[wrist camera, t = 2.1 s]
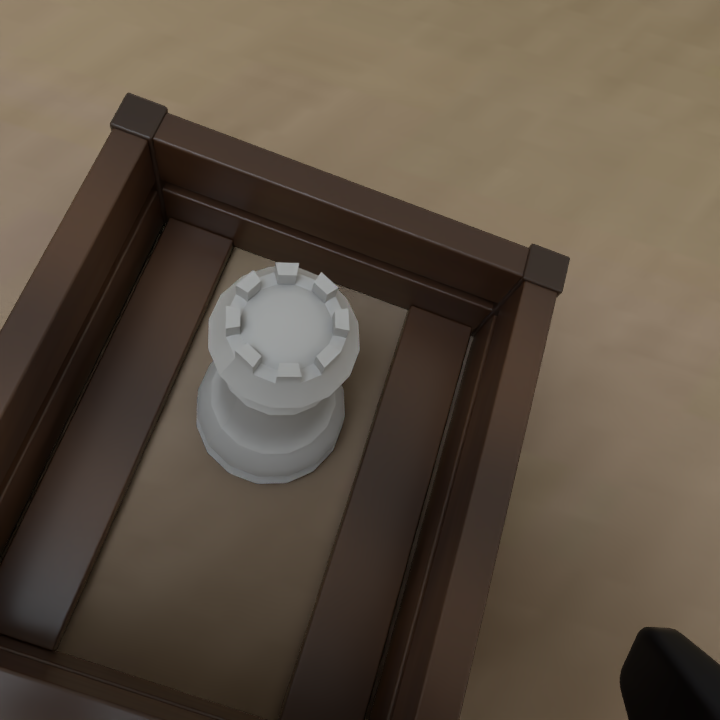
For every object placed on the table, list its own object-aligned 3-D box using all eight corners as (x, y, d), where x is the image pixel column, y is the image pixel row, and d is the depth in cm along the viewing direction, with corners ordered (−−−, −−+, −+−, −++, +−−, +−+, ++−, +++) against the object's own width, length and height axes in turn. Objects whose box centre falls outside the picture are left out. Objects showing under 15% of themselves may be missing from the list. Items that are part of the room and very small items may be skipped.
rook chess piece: (249, 517, 20) (257, 472, 13) (167, 395, 21) (129, 286, 14) (369, 433, 22) (439, 348, 14) (288, 321, 22) (314, 186, 15)
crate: (386, 806, 18) (431, 870, 14) (-94, 652, 18) (-199, 670, 13) (511, 317, 24) (571, 256, 20) (147, 183, 23) (127, 90, 19)
